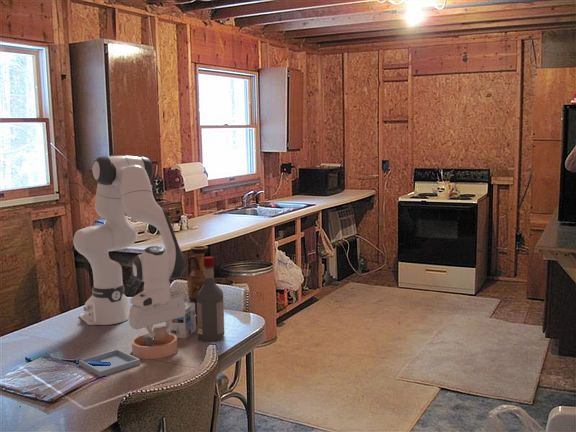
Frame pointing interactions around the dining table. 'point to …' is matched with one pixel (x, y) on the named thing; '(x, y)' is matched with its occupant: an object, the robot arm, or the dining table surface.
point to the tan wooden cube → (160, 333)
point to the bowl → (154, 347)
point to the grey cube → (149, 341)
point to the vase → (196, 274)
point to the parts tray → (115, 357)
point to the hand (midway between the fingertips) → (159, 335)
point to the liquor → (210, 307)
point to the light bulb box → (184, 322)
